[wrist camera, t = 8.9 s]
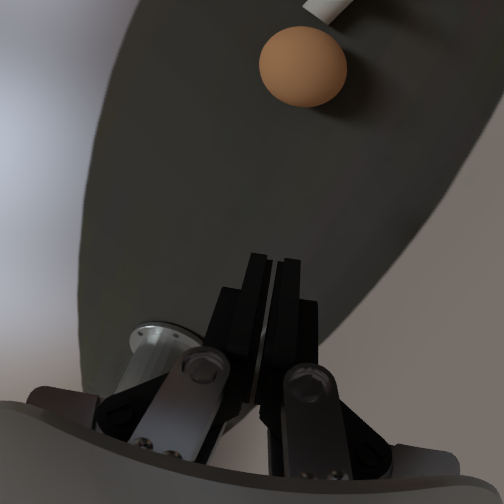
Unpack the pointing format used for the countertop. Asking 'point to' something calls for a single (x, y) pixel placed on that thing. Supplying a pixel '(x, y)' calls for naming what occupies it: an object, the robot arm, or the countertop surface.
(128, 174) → the countertop surface
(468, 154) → the countertop surface
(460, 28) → the countertop surface
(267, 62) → the ball
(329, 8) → the pin
